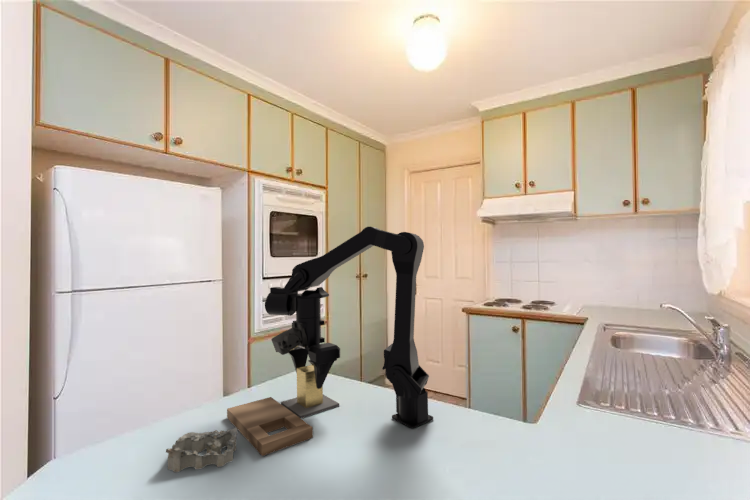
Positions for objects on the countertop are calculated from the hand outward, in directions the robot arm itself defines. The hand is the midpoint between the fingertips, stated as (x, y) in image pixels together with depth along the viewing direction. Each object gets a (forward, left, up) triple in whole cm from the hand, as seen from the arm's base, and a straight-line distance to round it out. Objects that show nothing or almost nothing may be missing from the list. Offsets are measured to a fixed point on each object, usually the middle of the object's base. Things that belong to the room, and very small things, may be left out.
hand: (309, 382), depth 85 cm
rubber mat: (0, 0, -5) cm, 5 cm away
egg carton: (-8, +25, -6) cm, 27 cm away
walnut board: (-4, +12, -5) cm, 14 cm away
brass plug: (0, 0, -5) cm, 5 cm away
